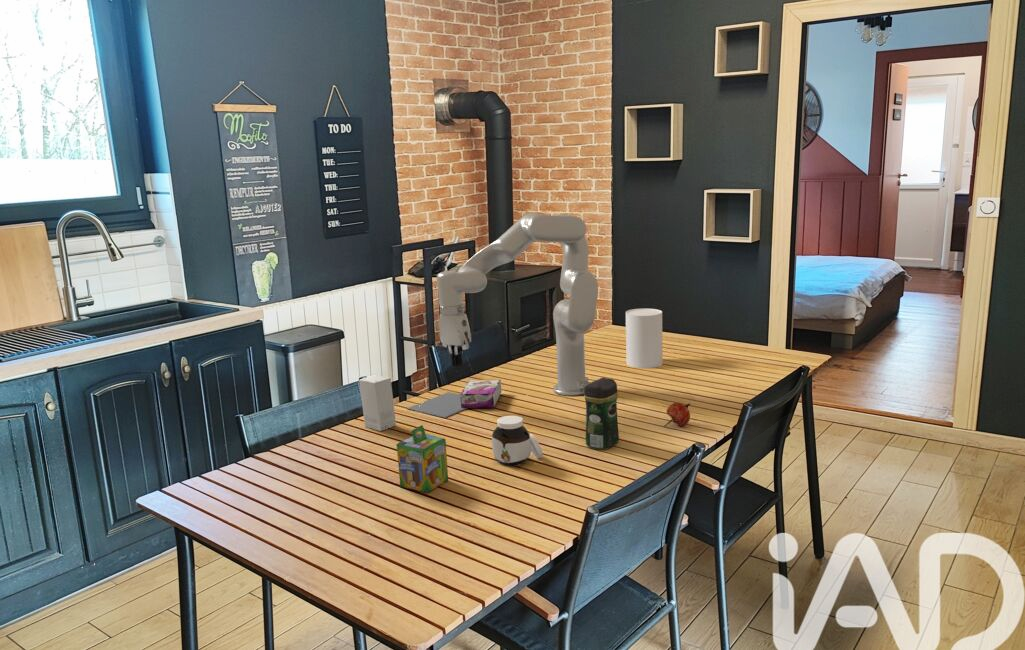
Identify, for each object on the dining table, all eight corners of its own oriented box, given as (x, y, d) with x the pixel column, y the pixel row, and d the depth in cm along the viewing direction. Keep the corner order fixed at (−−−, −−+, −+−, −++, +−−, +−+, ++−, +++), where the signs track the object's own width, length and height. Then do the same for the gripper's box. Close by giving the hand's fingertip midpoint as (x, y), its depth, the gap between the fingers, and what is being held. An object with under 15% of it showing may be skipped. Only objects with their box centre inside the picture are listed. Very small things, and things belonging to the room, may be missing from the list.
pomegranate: (673, 438, 223) (700, 417, 222) (657, 419, 223) (684, 397, 222) (669, 432, 231) (696, 411, 230) (654, 413, 230) (680, 392, 229)
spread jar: (488, 461, 207) (486, 420, 205) (517, 448, 215) (515, 408, 213) (521, 472, 199) (519, 429, 197) (549, 458, 207) (548, 417, 205)
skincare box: (396, 426, 238) (392, 377, 234) (379, 432, 233) (375, 383, 230) (379, 420, 243) (375, 373, 240) (362, 426, 239) (358, 378, 235)
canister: (626, 358, 301) (625, 308, 297) (661, 358, 299) (661, 308, 295) (626, 368, 288) (625, 316, 284) (663, 368, 286) (663, 315, 282)
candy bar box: (459, 393, 250) (468, 379, 266) (460, 408, 251) (469, 393, 267) (493, 393, 248) (501, 378, 264) (494, 407, 249) (501, 392, 265)
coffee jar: (598, 436, 222) (597, 374, 218) (623, 441, 217) (622, 377, 213) (580, 447, 214) (578, 383, 210) (605, 452, 209) (604, 387, 205)
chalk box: (427, 494, 189) (423, 437, 186) (398, 487, 194) (393, 431, 191) (450, 480, 197) (446, 425, 193) (421, 473, 201) (417, 419, 198)
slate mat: (485, 401, 258) (485, 399, 258) (444, 418, 243) (444, 417, 243) (448, 393, 268) (448, 392, 268) (406, 409, 253) (406, 408, 253)
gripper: (477, 309, 244) (482, 364, 248) (442, 306, 253) (448, 359, 257) (461, 314, 238) (467, 371, 242) (426, 310, 247) (432, 365, 251)
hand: (457, 365), depth 250 cm, fingers closed
